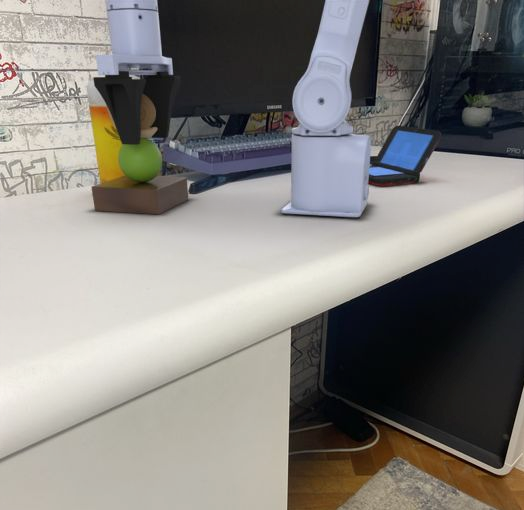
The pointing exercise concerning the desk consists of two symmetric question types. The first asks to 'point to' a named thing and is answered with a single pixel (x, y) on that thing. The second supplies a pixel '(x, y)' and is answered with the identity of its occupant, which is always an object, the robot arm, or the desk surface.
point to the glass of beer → (104, 136)
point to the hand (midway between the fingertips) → (146, 140)
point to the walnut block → (140, 195)
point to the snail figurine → (141, 148)
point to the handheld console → (403, 156)
